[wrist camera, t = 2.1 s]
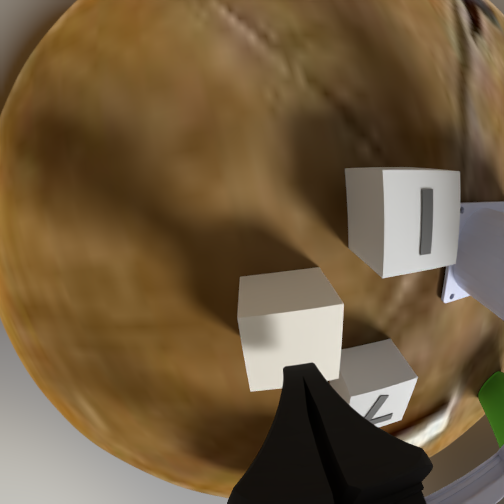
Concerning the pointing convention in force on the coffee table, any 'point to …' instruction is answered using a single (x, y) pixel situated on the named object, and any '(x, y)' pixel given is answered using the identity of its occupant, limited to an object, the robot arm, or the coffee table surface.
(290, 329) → the cream block
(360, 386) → the white marked cube 7
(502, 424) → the cup
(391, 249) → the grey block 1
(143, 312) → the coffee table surface
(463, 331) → the coffee table surface
